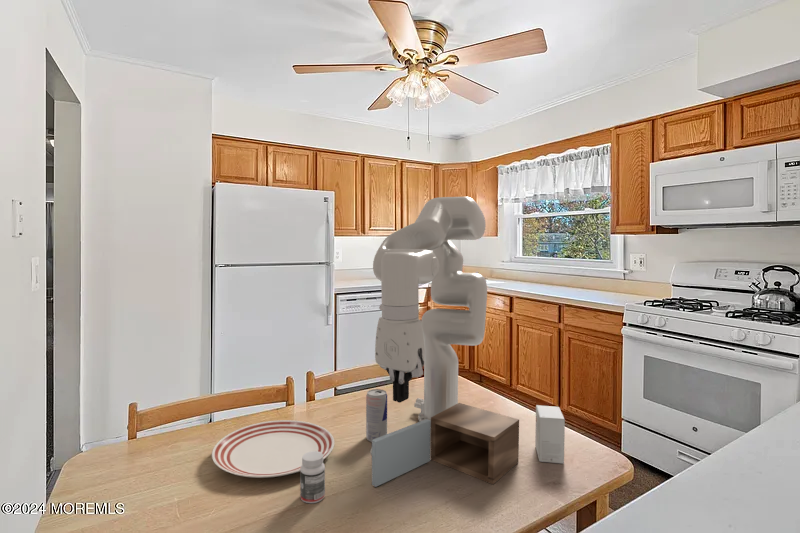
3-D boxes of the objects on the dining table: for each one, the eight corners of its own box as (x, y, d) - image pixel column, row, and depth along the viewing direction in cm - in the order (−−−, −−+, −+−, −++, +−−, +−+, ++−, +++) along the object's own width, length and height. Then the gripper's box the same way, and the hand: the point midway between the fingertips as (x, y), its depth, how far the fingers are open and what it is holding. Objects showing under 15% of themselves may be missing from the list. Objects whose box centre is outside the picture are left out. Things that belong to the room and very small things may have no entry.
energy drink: (390, 435, 113) (390, 390, 113) (382, 444, 108) (382, 397, 108) (371, 432, 115) (371, 387, 114) (362, 441, 110) (362, 394, 109)
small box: (564, 464, 99) (565, 419, 98) (538, 462, 100) (539, 417, 99) (558, 448, 107) (559, 406, 106) (534, 446, 108) (535, 404, 107)
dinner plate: (355, 443, 109) (355, 430, 109) (283, 502, 84) (282, 486, 84) (270, 424, 121) (269, 412, 120) (183, 471, 96) (183, 456, 96)
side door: (422, 456, 101) (422, 417, 101) (430, 460, 100) (430, 420, 99) (367, 481, 91) (367, 437, 90) (375, 487, 89) (375, 441, 88)
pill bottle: (302, 490, 88) (301, 450, 88) (325, 489, 88) (325, 449, 88) (298, 504, 83) (298, 462, 83) (323, 503, 84) (323, 461, 83)
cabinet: (430, 459, 101) (431, 417, 100) (458, 441, 110) (459, 402, 109) (493, 484, 90) (494, 437, 90) (518, 462, 100) (519, 419, 99)
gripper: (361, 310, 91) (362, 396, 92) (418, 320, 81) (418, 415, 83) (385, 305, 96) (386, 386, 98) (441, 313, 87) (441, 403, 88)
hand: (400, 399), depth 90 cm, fingers closed
